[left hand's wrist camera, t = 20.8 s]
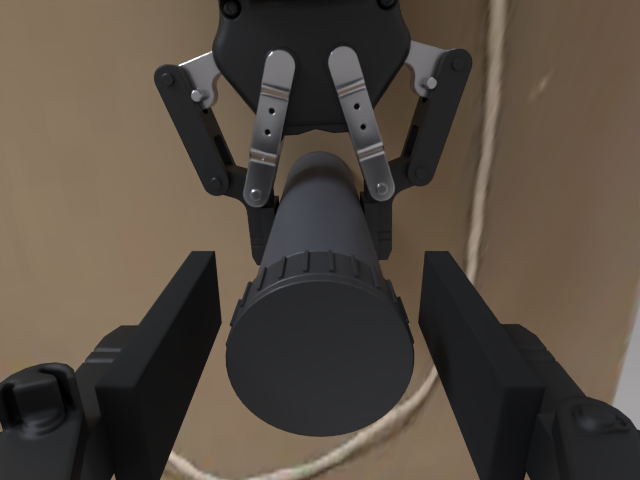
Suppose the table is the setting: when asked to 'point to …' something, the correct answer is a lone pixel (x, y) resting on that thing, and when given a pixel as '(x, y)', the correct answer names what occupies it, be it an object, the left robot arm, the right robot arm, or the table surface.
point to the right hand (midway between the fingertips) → (323, 265)
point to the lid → (320, 345)
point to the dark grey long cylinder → (320, 213)
